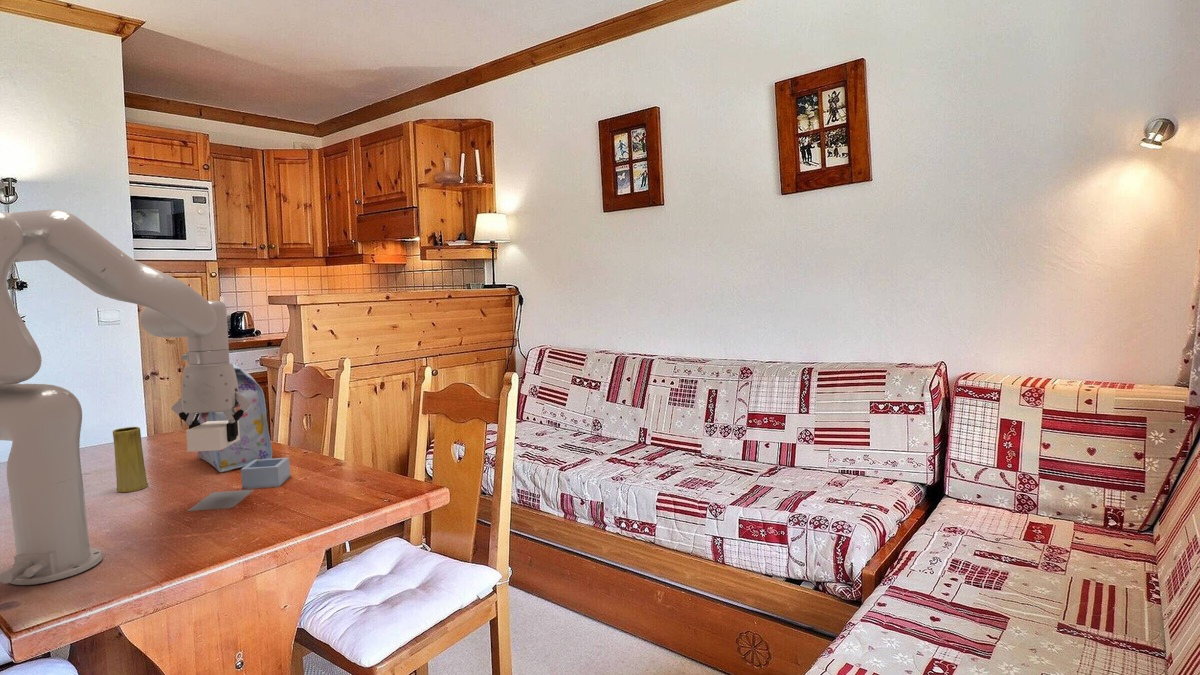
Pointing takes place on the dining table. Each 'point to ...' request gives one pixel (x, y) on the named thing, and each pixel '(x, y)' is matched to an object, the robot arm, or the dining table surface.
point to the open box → (265, 473)
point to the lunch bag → (242, 429)
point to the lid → (209, 436)
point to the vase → (129, 460)
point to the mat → (221, 500)
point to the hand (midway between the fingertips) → (214, 440)
